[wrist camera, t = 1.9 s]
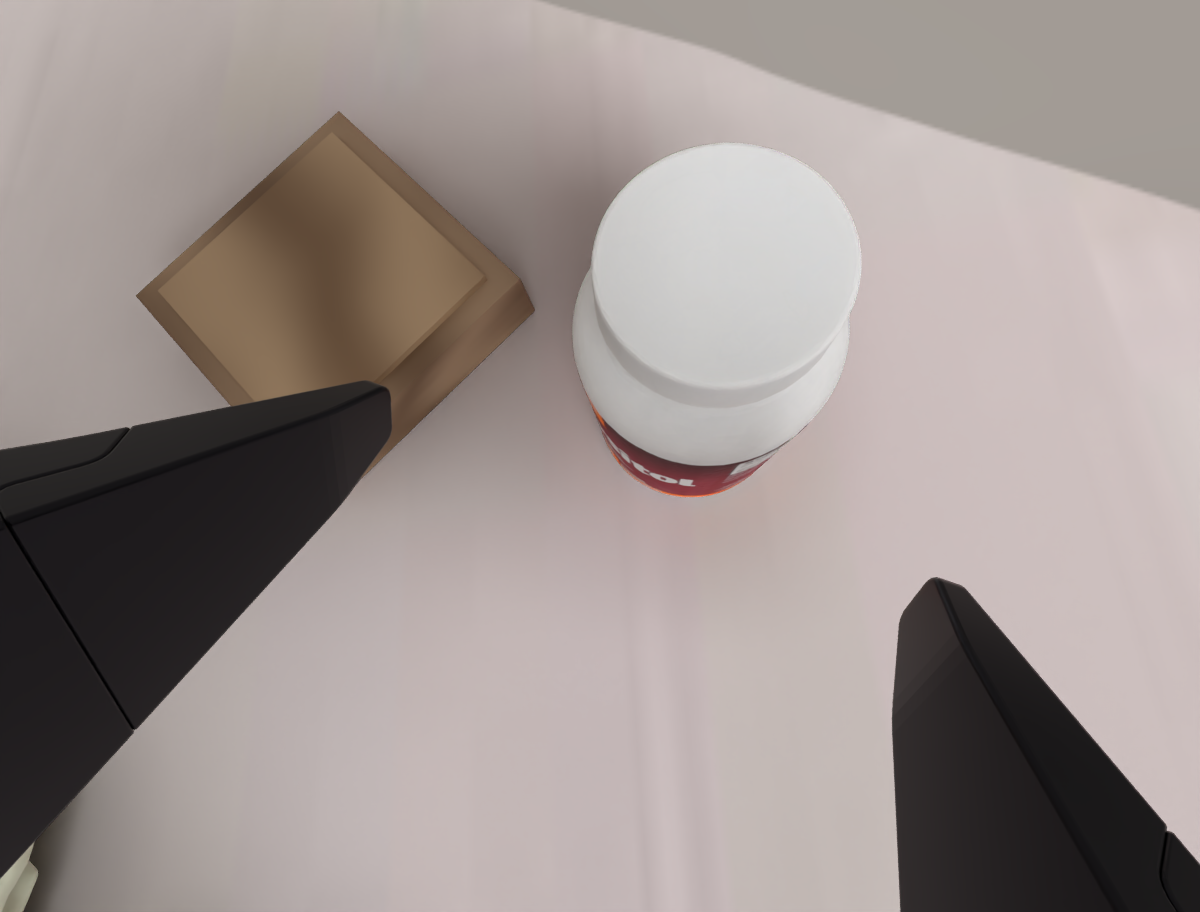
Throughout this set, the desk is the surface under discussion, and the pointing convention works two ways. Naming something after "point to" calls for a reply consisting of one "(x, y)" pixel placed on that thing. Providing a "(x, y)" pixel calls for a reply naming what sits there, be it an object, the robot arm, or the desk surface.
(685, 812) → the desk surface
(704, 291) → the pill bottle
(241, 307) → the plinth
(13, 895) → the wavy plaster lump
